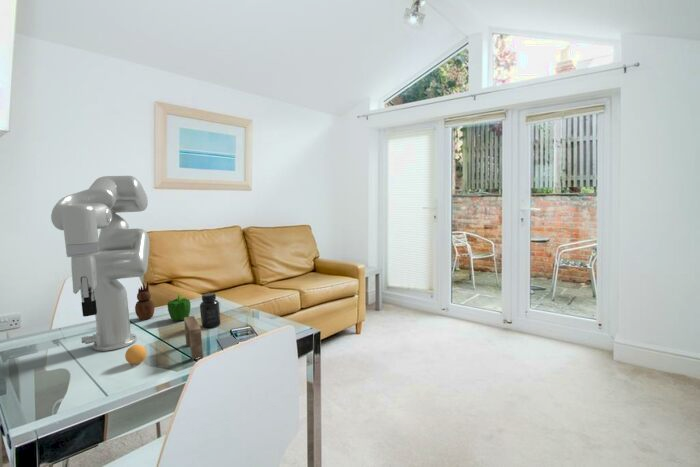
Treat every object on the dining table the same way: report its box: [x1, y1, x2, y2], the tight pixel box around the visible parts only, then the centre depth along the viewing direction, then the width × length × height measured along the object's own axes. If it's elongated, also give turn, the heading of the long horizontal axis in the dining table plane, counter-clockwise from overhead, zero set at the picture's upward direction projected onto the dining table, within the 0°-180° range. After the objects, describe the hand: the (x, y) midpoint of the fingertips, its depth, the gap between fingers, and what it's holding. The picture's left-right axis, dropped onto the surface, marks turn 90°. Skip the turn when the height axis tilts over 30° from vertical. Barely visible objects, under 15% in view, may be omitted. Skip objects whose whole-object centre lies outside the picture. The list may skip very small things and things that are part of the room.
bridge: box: [183, 315, 204, 361], centre depth 122 cm, size 3×14×9 cm, turn 29°
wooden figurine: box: [134, 281, 155, 320], centre depth 157 cm, size 7×6×15 cm
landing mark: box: [216, 335, 256, 350], centre depth 130 cm, size 12×12×1 cm
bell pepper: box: [167, 293, 191, 322], centre depth 154 cm, size 8×8×10 cm
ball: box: [124, 344, 147, 365], centre depth 115 cm, size 6×6×6 cm
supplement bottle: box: [199, 292, 221, 329], centre depth 146 cm, size 7×7×12 cm
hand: (90, 314), depth 108 cm, fingers closed
